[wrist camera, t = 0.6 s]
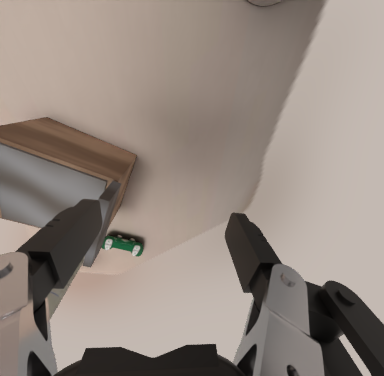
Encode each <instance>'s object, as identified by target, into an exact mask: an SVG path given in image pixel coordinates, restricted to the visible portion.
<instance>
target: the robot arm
mask: <svg viewBox="0 0 384 376" xmlns="http://www.w3.org/2000/svg"><path fill="white" fill-rule="evenodd" d="M248 1H249V2H251V3H252V4H255V5H259V6H270V5H273V4H275V3H278V2H280V1H281V0H248ZM101 228H102V214H101V206H100V202H99V200H93V199H82V200H80V201H79V202H78V203H77V204H76V205H75V206H74V207H69V208H67V209H65V210H63V211H61V212H60V213H58V214H57V215H56V216H55V217H54V218H53V219H52V221H49V222H48V223H47V224H46V225H45V227H43V228H42V229H40V230H39V231H38V232H37V233H36V234H35V235H34V236H32V237H31V238H30V239H29V240H28V241H27V242H26V243H25V244H23V245H22V246H21V247H20V248H19V249H18V250H17V251H16V252H10V253H6V254H2V255H0V376H363V375H362V374H361V372H360V371H359V369H358V368H357V366H356V364H355V363H354V361H353V360H352V358H351V357H350V355H349V354H348V352H347V350H346V349H345V347H344V346H343V344H342V343H341V341H340V340H339V337H340V336H342V335H343V334H345V336H346V337H347V339H348V340H349V342H350V343H351V344H352V346H353V348H354V349H355V351H356V352H357V353H358V355H359V356H360V358H361V359H362V361H363V362H364V364H365V365H366V367H367V368H368V370H369V371H370V373H371V375H372V376H384V325H383V324H382V322H381V321H380V320H379V319H378V318H377V317H376V316H375V315H374V313H373V312H372V311H371V310H370V309H369V308H368V307H367V306H366V304H365V303H364V302H363V301H362V300H361V299H360V298H359V297H358V296H357V295H356V294H355V293H354V292H353V291H352V290H350V289H349V288H347V287H346V286H344V285H342V284H340V283H338V282H335V281H327V282H326V283H325V284H324V285H323V286H322V287H321V286H318V285H315V284H312V283H309V282H306V281H304V279H303V278H302V277H301V276H300V275H299V274H298V273H297V272H296V271H295V270H294V269H292V268H291V267H289V266H286V265H284V264H282V263H281V261H280V260H279V258H278V257H277V255H276V254H275V252H274V251H273V249H272V247H271V246H270V245H269V243H268V242H267V240H266V238H265V237H264V236H263V234H262V232H261V230H260V229H259V228H258V227H257V226H256V225H255V224H254V223H252V222H250V221H249V219H248V218H247V216H246V215H245V214H242V213H232V214H231V216H230V219H229V222H228V225H227V228H226V231H225V239H226V243H227V246H228V249H229V252H230V254H231V257H232V260H233V263H234V266H235V269H236V272H237V275H238V278H239V281H240V284H241V286H242V289H243V292H244V293H252V295H253V297H254V298H253V300H252V303H251V306H250V310H249V314H248V318H247V321H246V325H245V329H244V333H243V337H242V340H241V343H240V345H239V347H238V349H237V352H236V355H235V357H234V361H233V363H232V362H231V361H229V360H228V359H226V358H224V357H222V356H220V355H218V354H217V349H216V344H204V345H203V344H202V345H185V346H183V347H181V348H178V349H175V350H173V351H171V352H168V353H166V354H163V355H161V356H159V357H155V358H151V357H147V356H144V355H142V354H139V353H136V352H133V351H130V350H127V349H125V348H122V347H112V348H110V347H109V348H86V350H85V352H84V355H83V357H82V360H80V361H77V362H75V363H73V364H71V365H69V366H67V367H66V368H64V369H62V370H61V371H59V372H57V365H56V359H55V355H54V352H53V348H52V342H51V330H50V318H49V305H48V298H47V296H48V294H49V293H50V292H51V290H52V289H64V288H65V286H66V284H67V283H68V281H69V280H70V278H71V277H72V275H73V273H74V272H75V270H76V269H77V267H78V266H79V264H80V262H81V261H82V259H83V258H84V256H85V255H86V253H87V251H88V250H89V248H90V247H91V245H92V244H93V242H94V240H95V239H96V237H97V236H98V234H99V232H100V231H101Z"/></svg>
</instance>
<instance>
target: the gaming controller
mask: <svg viewBox="0 0 384 376" xmlns="http://www.w3.org/2000/svg"><path fill="white" fill-rule="evenodd" d="M134 240H135V239H132V238H131V240H125V239H123V238H122V236H120V235H118V237H114V236H107V237H105V239H104V242H103V245H102V248H103V249H105V250H109V249H111V248H113V247H114V248H118V249H123V250H127V251H131V253H132V255H133V256H140V255H141V254H142V252H143V245H142V243H140V242H135V241H134Z"/></svg>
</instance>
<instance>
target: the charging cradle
mask: <svg viewBox="0 0 384 376" xmlns="http://www.w3.org/2000/svg"><path fill="white" fill-rule="evenodd" d="M136 156H137V155H135V154H133V153H130V152H128V151H125V150H123V149H121V148H118V147H116V146H114V145H111V144H109V143H107V142H104V141H102V140H99V139H97V138H95V137H92V136H90V135H88V134H85V133H83V132H80V131H78V130H76V129H73V128H71V127H69V126H66V125H64V124H61V123H59V122H57V121H54V120H52V119H50V118H47V117H46V118H40V119H35V120H29V121H24V122H18V123H13V124H7V125H1V126H0V218H2V219H6V220H10V221H14V222H18V223H22V224H26V225H30V226H34V227H38V228H43V227H45V225H46V224H47V223H48V222H49V221H52V219H53V218H54V217H55V216H56V215H57V214H58V213H60V212H61V211H63V210H65V209H67V208H69V207H74V206H75V205H76V204H77V203H78V202H79V201H80V200H82V199H93V200H99V202H100V206H101V214H102V228H101V231H100V232H99V234H98V236H97V237H96V239H95V240H94V242H93V244H92V245H91V247H90V248H89V250H88V251H87V253H86V255H85V258H84V262H83V266H87V267H91V266H92V264H93V262H94V260H95V258H96V257H97V255H98V253H99V251H100V249H101V247H102V245H103V242H104V239H105V235H106V232H107V229H108V227H109V225H110V224H111V222H112V220H113V218H114V216H115V215H116V213H117V211H118V209H119V207H120V205H121V202H122V199H123V196H124V193H125V190H126V187H127V184H128V181H129V178H130V175H131V172H132V168H133V165H134V162H135V159H136Z"/></svg>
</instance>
